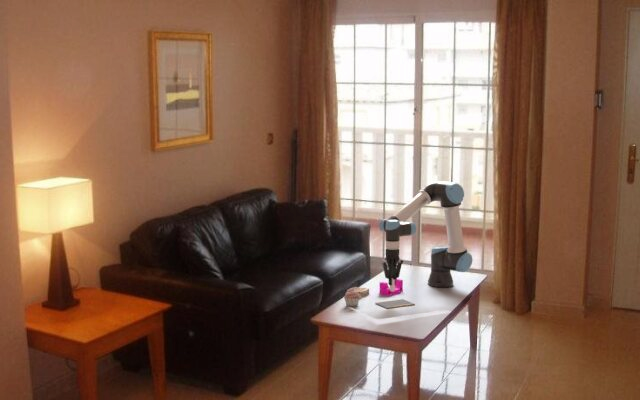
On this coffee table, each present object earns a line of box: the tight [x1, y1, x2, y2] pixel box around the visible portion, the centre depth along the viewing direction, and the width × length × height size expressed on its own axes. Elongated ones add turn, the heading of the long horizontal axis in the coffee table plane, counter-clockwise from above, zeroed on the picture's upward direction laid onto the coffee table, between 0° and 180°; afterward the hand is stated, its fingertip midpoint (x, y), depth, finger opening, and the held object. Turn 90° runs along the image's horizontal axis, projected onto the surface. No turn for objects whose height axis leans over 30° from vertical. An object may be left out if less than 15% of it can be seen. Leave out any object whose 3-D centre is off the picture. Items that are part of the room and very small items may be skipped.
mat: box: [374, 298, 415, 310], centre depth 430 cm, size 18×12×1 cm, turn 117°
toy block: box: [379, 278, 404, 297], centre depth 455 cm, size 15×6×8 cm, turn 128°
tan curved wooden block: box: [346, 286, 370, 299], centre depth 450 cm, size 4×10×9 cm
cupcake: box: [343, 287, 361, 308], centre depth 428 cm, size 9×9×10 cm
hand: (392, 290), depth 428 cm, fingers closed
